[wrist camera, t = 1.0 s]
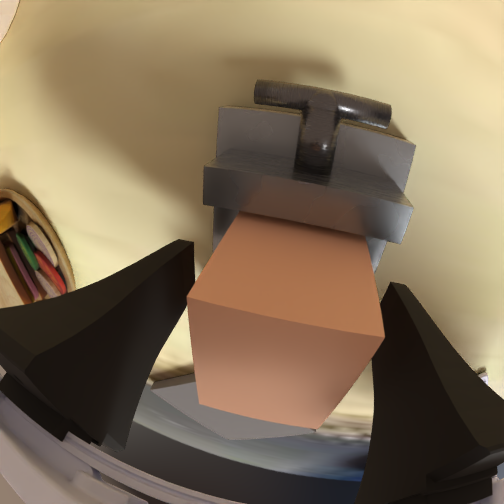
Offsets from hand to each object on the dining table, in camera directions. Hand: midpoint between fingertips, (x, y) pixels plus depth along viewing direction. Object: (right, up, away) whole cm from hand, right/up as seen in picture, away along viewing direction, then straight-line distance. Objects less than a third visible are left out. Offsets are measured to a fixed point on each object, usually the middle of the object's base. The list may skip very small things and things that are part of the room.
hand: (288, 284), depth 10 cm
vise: (+1, +2, +2) cm, 3 cm away
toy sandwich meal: (-20, +1, +9) cm, 22 cm away
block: (0, +1, +2) cm, 2 cm away
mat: (-3, -13, +12) cm, 18 cm away
